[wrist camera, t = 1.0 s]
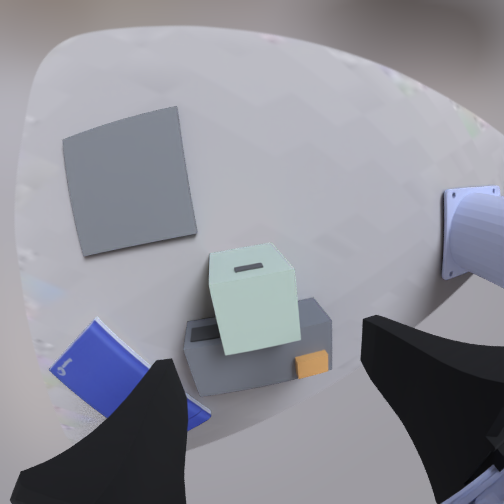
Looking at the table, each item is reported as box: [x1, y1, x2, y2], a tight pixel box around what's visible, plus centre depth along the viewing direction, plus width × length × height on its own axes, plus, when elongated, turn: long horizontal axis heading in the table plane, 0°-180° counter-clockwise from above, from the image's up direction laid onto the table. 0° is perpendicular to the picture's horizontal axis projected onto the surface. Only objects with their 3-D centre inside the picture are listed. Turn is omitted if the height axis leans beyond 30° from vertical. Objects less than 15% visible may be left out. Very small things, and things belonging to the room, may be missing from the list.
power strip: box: [184, 298, 332, 397], centre depth 18 cm, size 9×4×4 cm, turn 99°
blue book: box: [49, 317, 211, 431], centre depth 20 cm, size 2×8×12 cm
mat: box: [63, 106, 197, 256], centre depth 16 cm, size 8×8×1 cm
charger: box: [209, 243, 301, 355], centre depth 16 cm, size 4×6×6 cm
